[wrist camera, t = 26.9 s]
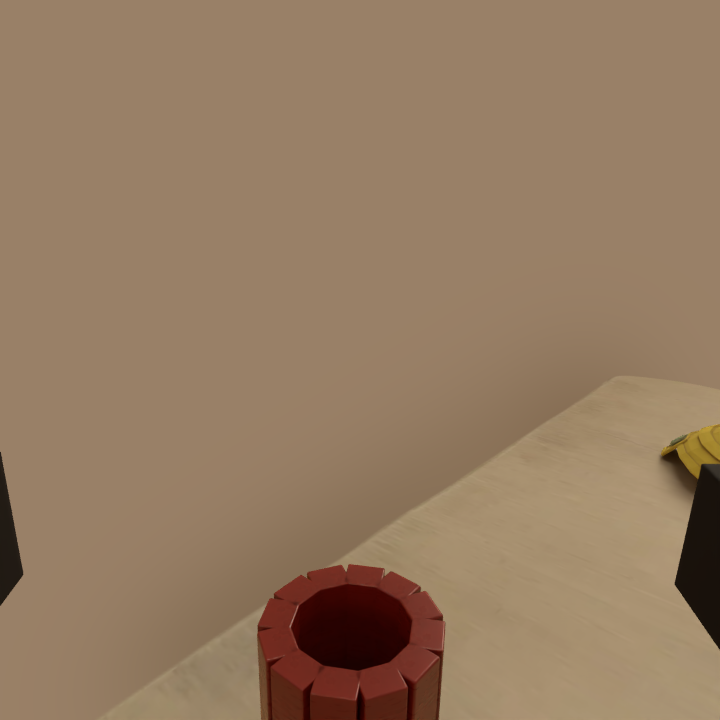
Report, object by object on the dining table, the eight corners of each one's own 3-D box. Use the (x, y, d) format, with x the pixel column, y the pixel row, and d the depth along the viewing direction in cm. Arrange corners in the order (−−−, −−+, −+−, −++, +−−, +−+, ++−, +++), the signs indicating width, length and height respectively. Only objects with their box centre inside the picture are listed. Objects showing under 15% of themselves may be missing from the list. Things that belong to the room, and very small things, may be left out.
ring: (290, 892, 23) (284, 723, 21) (250, 730, 30) (242, 585, 27) (464, 825, 26) (479, 666, 23) (394, 688, 32) (399, 551, 29)
